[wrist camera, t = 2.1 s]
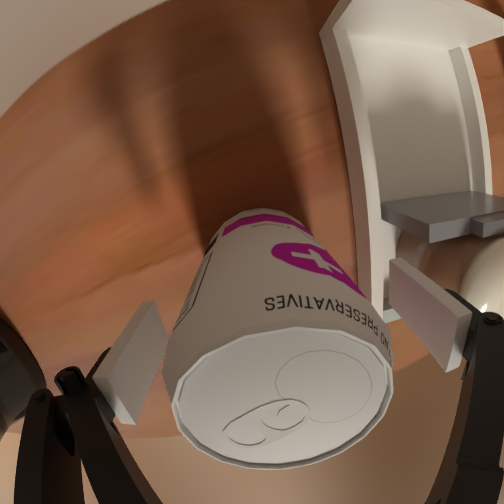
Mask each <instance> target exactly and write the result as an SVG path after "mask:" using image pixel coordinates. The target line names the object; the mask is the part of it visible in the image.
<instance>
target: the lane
mask: <svg viewBox="0 0 504 504" xmlns="http://www.w3.org/2000/svg"><path fill="white" fill-rule="evenodd" d="M319 36H320V39H321V43H322V46H323V50H324V54H325V57H326V61H327V65H328V69H329V73H330V77H331V82H332V86H333V90H334V95H335V99H336V104H337V109H338V114H339V119H340V124H341V130H342V136H343V141H344V147H345V154H346V160H347V167H348V174H349V181H350V189H351V198H352V207H353V217H354V227H355V239H356V254H357V272H358V288H359V290H360V291H361V292H362V293H363V294H364V296H365V297H366V298H367V299H368V300H369V302H370V303H371V304H372V306H373V307H374V308H375V310H376V311H377V313H378V314H379V316H380V317H381V319H382V320H383V321H384V323H387V322H391V321H394V320H398V319H401V317H400V316H399V315H398V313H397V312H396V311H395V310H394V309H393V308H392V307H391V305H390V304H389V260H390V259H395V258H396V248H397V243H398V239H399V237H400V234H401V232H402V229H400V228H398V227H396V226H394V225H392V224H390V223H388V222H386V221H384V220H382V219H381V207H380V203H383V202H390V201H396V200H403V199H411V198H418V197H425V196H433V195H440V194H448V193H456V192H464V191H472V190H473V191H477V192H482V193H486V194H490V195H492V173H491V159H490V149H489V140H488V133H487V126H486V120H485V114H484V109H483V103H482V99H481V94H480V90H479V85H478V81H477V77H476V74H475V70H474V67H473V63H472V60H471V56H470V53H469V50H468V48H469V47H472V46H475V45H477V44H480V43H483V42H486V41H489V40H492V39H495V38H498V37H501V36H504V19H503V18H501V17H499V16H497V15H495V14H493V13H491V12H489V11H487V10H485V9H483V8H480V7H478V6H476V5H474V4H471V3H469V2H466V1H464V0H339V1H338V3H337V5H336V6H335V8H334V9H333V11H332V13H331V14H330V16H329V17H328V19H327V21H326V22H325V24H324V25H323V27H322V29H321V30H320V32H319Z"/></svg>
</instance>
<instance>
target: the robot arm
mask: <svg viewBox="0 0 504 504" xmlns="http://www.w3.org/2000/svg"><path fill="white" fill-rule="evenodd" d="M389 304H390V305H391V307H392V308H393V309H394V310H395V311H396V312H397V313H398V315H399V316H400V317H401V318H402V319H403V320H404V322H405V323H406V324H407V325H408V326H409V328H410V329H411V330H412V331H413V332H414V334H415V335H416V336H417V337H418V338H419V340H420V341H421V342H422V343H423V344H424V346H425V347H426V348H427V349H428V351H429V352H430V353H431V354H432V355H433V357H434V358H435V359H436V360H437V362H438V363H439V364H440V366H441V367H442V368H443V369H444V371H445V372H448V371H450V370H453V369H455V368H457V367H459V365H460V362H461V358H462V356H463V357H464V358H465V359H466V360H467V362H466V365H465V368H464V371H463V375H462V378H461V380H463V382H462V388H461V393H460V398H459V403H458V407H457V412H456V416H455V420H454V424H453V428H452V431H451V435H450V438H449V442H448V445H447V448H446V452H445V454H444V457H443V461H442V463H441V466H440V469H439V471H438V474H437V477H436V479H435V482H434V484H433V487H432V489H431V492H430V494H429V496H428V498H427V500H426V502H425V504H497V500H498V497H499V493H500V489H501V486H502V481H503V476H504V470H503V468H500V467H499V460H500V455H501V449H502V443H503V436H504V319H503V317H502V316H501V315H499V314H497V313H495V312H483V313H482V312H480V311H479V310H478V309H477V308H475V307H474V306H473V305H472V304H470V303H469V302H467V300H465V299H464V298H462V297H461V296H460V295H459V294H458V293H456V292H454V291H452V290H449V289H443V288H441V287H440V286H439V285H437V284H436V283H435V282H434V281H432V280H431V279H430V278H428V277H427V276H426V275H424V274H423V273H422V272H420V271H419V270H418V269H416V268H415V267H413V266H412V265H411V264H409V263H408V262H407V261H405V260H404V259H402V258H401V257H400V258H395V259H390V260H389ZM168 343H169V339H168V336H167V333H166V331H165V328H164V325H163V323H162V320H161V317H160V314H159V311H158V308H157V305H156V303H155V300H154V301H147V302H143V303H142V304H141V305H140V307H139V308H138V310H137V311H136V312H135V314H134V315H133V317H132V318H131V320H130V321H129V323H128V324H127V325H126V327H125V328H124V330H123V331H122V333H121V334H120V336H119V337H118V339H117V340H116V342H115V343H114V345H113V346H112V347H109V348H108V349H107V350H105V351H104V352H103V353H102V354H101V356H100V357H99V359H98V361H96V363H95V364H94V366H93V367H92V369H91V370H90V372H89V373H88V375H87V376H86V378H84V376H83V374H82V372H81V371H80V369H79V368H78V367H76V366H70V367H67V368H65V369H63V370H61V371H60V372H59V373H58V374H57V375H56V376H55V379H54V382H55V383H56V385H57V386H58V388H59V390H60V391H61V393H62V394H63V395H60V396H53V394H52V393H51V391H50V390H49V389H47V387H46V382H45V379H44V376H43V374H42V372H41V370H40V368H39V366H38V364H37V362H36V360H35V359H34V357H33V356H32V354H31V353H30V351H29V350H28V348H27V347H26V345H25V344H24V343H23V342H22V340H21V339H20V338H19V337H18V335H17V334H16V333H15V332H14V331H13V330H12V329H11V328H10V327H9V326H8V325H7V324H6V323H5V322H4V321H2V320H1V319H0V440H1V439H2V437H3V435H4V434H5V432H6V431H7V429H8V428H9V427H10V426H11V425H12V424H14V423H15V422H17V421H18V420H20V419H22V418H23V417H25V419H24V424H23V429H22V434H21V440H20V446H19V452H18V460H17V468H16V477H15V488H14V504H85V501H84V492H83V483H82V472H81V460H82V463H83V466H84V468H85V471H86V474H87V476H88V479H89V481H90V484H91V486H92V489H93V491H94V493H95V495H96V498H97V500H98V502H99V504H163V503H162V502H161V500H160V499H159V498H158V496H157V495H156V493H155V492H154V490H153V489H152V487H151V486H150V484H149V483H148V481H147V480H146V478H145V477H144V475H143V473H142V472H141V470H140V469H139V467H138V465H137V463H136V462H135V460H134V458H133V457H132V455H131V453H130V451H129V450H128V448H127V446H126V444H125V442H124V440H123V439H122V437H121V435H120V433H119V431H118V429H117V427H116V425H115V424H114V422H113V419H114V417H115V415H116V416H117V418H118V419H119V421H120V422H121V424H134V425H136V423H137V421H138V418H139V416H140V413H141V410H142V408H143V405H144V403H145V400H146V397H147V395H148V392H149V390H150V387H151V385H152V382H153V380H154V377H155V375H156V372H157V370H158V367H159V365H160V362H161V360H162V358H163V355H164V353H165V350H166V348H167V346H168Z"/></svg>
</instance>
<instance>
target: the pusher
mask: <svg viewBox="0 0 504 504" xmlns="http://www.w3.org/2000/svg"><path fill="white" fill-rule="evenodd" d="M380 207H381V219H382V220H384V221H386V222H388V223H390V224H392V225H394V226H396V227H398V228H400V229H402V230H404V231H406V232H408V233H410V234H412V235H414V236H416V237H418V238H420V239H422V240H424V241H426V242H428V243H433V242H437V241H442V240H446V239H450V238H455V237H459V236H463V235H468V234H472V233H473V234H475V235H477V236H480V237H482V238H484V237H488V236H492V235H496V234H499V233H503V232H504V198H502V197H498V196H494V195H490V194H486V193H482V192H477V191H473V190H472V191H464V192H456V193H448V194H440V195H433V196H425V197H418V198H411V199H403V200H396V201H390V202H383V203H380Z"/></svg>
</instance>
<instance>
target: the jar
mask: <svg viewBox="0 0 504 504" xmlns="http://www.w3.org/2000/svg"><path fill="white" fill-rule="evenodd" d="M400 257H401V258H402V259H404V260H405V261H407V262H408V263H409V264H411V265H412V266H413V267H415V268H416V269H418V270H419V271H420V272H422V273H423V274H424V275H426V276H427V277H428V278H430V279H431V280H432V281H434V282H435V283H436V284H437V285H439V286H440V287H441V288H443V289H449V290H452V291H454V292H456V293H458V294H459V295H460V296H461V297H462V298H464V299H465V300H467V302H469V303H470V304H472V305H473V306H474V307H475V308H477V309H478V310H479V311H480V312H482V313H483V312H495V313H497V314H499V315H501V316H502V317H503V319H504V232H503V233H499V234H496V235H492V236H488V237H484V238H482V237H480V236H477V235H475V234H473V233H472V234H468V235H463V236H459V237H455V238H450V239H446V240H442V241H437V242H433V243H428V242H426V241H424V240H422V239H420V238H418V237H416V236H414V235H412V234H410V233H408V232H406V231H404V230H402V232H401V234H400V237H399V239H398V243H397V248H396V258H400Z"/></svg>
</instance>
